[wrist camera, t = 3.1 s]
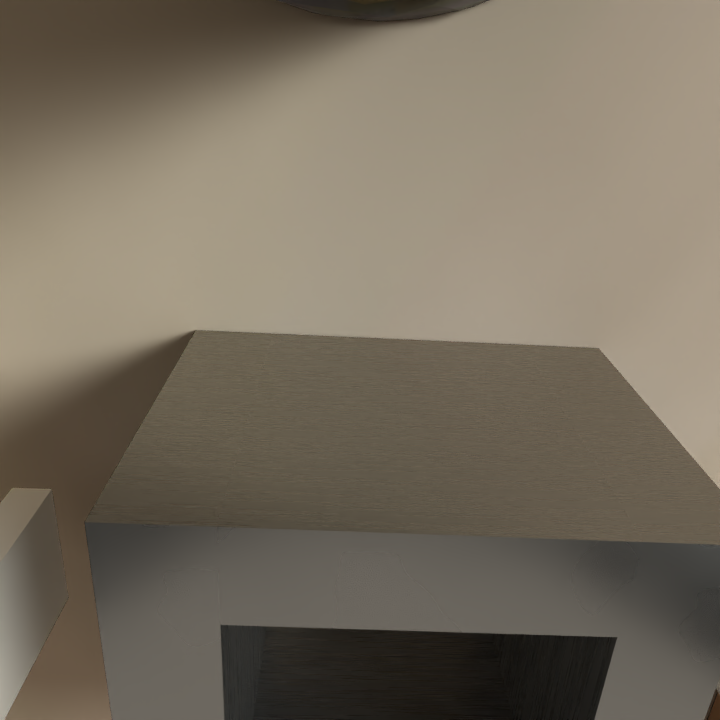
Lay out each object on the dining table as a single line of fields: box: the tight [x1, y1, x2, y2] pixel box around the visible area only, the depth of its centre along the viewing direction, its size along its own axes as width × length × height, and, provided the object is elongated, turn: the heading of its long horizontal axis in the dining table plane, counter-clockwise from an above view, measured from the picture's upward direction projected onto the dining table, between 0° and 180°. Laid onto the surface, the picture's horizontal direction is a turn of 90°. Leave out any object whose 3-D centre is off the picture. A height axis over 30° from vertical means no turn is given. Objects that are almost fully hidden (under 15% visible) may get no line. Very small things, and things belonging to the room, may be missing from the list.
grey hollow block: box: [85, 330, 720, 720], centre depth 12 cm, size 8×8×6 cm
